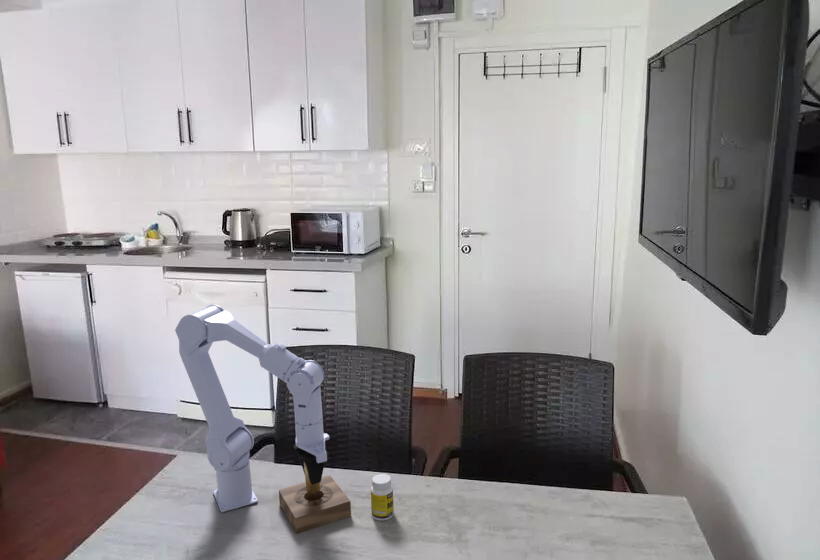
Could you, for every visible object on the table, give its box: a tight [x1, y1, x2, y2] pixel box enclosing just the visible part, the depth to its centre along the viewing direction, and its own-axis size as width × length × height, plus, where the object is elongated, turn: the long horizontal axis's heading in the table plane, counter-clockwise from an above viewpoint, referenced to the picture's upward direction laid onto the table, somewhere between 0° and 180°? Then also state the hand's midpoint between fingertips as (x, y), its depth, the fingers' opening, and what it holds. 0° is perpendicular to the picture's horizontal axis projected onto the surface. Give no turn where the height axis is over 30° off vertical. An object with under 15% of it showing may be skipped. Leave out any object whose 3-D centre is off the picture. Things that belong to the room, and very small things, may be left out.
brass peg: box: [304, 452, 320, 493], centre depth 128 cm, size 3×3×8 cm
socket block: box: [278, 475, 352, 534], centre depth 130 cm, size 12×12×4 cm
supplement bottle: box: [370, 473, 394, 522], centre depth 127 cm, size 5×5×8 cm
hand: (312, 478), depth 128 cm, fingers closed on brass peg, 3 cm apart
